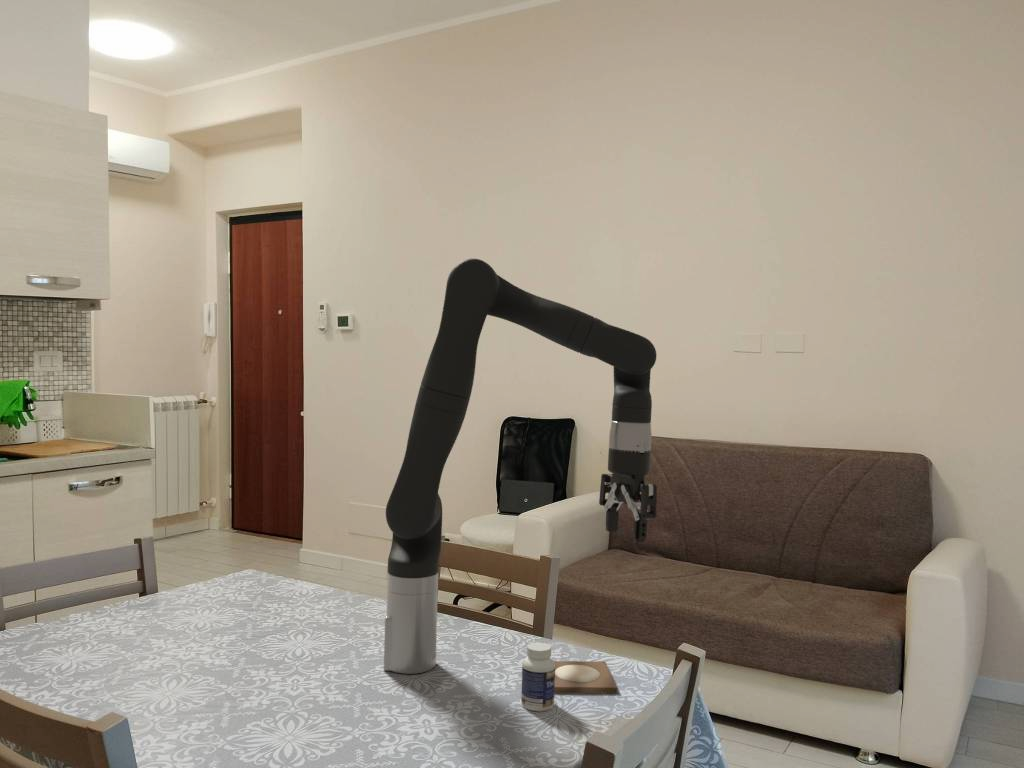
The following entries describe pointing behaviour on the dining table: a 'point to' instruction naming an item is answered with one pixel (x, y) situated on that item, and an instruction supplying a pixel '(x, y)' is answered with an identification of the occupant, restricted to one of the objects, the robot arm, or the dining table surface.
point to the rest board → (583, 677)
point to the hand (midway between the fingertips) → (625, 536)
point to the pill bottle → (538, 678)
